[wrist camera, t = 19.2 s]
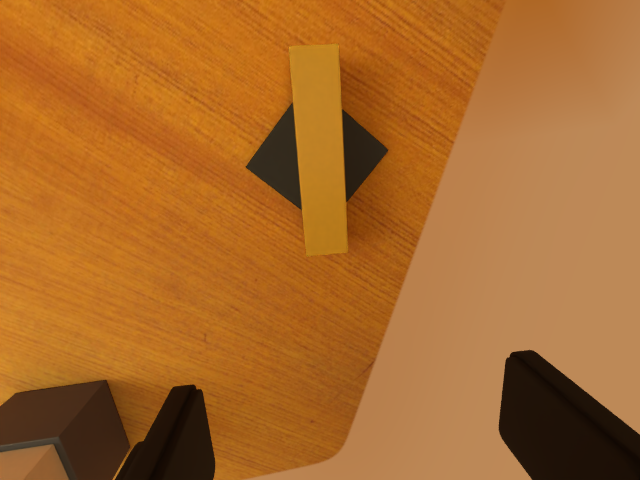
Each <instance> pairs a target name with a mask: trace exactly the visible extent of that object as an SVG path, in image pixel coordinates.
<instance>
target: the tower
mask: <svg viewBox="0 0 640 480" xmlns="http://www.w3.org/2000/svg"><path fill="white" fill-rule="evenodd" d="M129 449H130V445H129V443H128V440H127V437H126V434H125V431H124V429H123V426H122V423H121V420H120V418H119V415H118V412H117V409H116V406H115V404H114V401H113V398H112V395H111V392H110V390H109V387H108V384H107V381H106V380H103V381H96V382H89V383H82V384H75V385H69V386H62V387H55V388H48V389H41V390H35V391H28V392H21V393H16V394H14V395H13V396H12V397H11V398H10V399H8V400H7V401H6V402H5V403H4V404H3V405H1V406H0V480H112V479H113V477H114V476H115V474H116V472H117V470H118V469H119V467H120V465H121V463H122V461H123V460H124V458H125V456H126V454H127V452H128V451H129Z"/></svg>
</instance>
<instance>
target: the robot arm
mask: <svg viewBox="0 0 640 480" xmlns="http://www.w3.org/2000/svg"><path fill="white" fill-rule="evenodd" d="M499 432H500V435H501V437H502V439H503V441H504V442H505V444H506V445H507V446H508V448H509V449H510V450H511V452H512V453H513V454H514V456H515V457H516V458H517V460H518V461H519V462H520V464H521V465H522V466H523V468H524V469H525V470H526V472H527V473H528V475H529V476H530V477H531V479H532V480H640V435H639V434H638V433H637V432H636V431H634V430H633V429H632V428H631V427H629V426H628V425H627V424H625V423H624V422H623V421H622V420H621V419H619V418H618V417H617V416H615V415H614V414H613V413H612V412H610V411H609V410H608V409H607V408H605V407H604V406H603V405H601V404H600V403H599V402H598V401H597V400H595V399H594V398H593V397H592V396H590V395H589V394H588V393H587V392H585V391H584V390H583V389H581V388H580V387H579V386H578V385H577V384H575V383H574V382H573V381H572V380H570V379H569V378H567V377H566V376H565V375H564V374H563V373H561V372H560V371H559V370H557V369H556V368H555V367H554V366H553V365H551V364H550V363H549V362H547V361H546V360H545V359H544V358H542V357H541V356H540V355H539V354H538V353H536V352H534V351H532V350H527V351H517V352H512V353H511V354H510V357H509V358H507V359H506V363H505V372H504V381H503V391H502V401H501V409H500V419H499ZM214 473H215V458H214V452H213V447H212V441H211V435H210V430H209V424H208V419H207V413H206V408H205V402H204V397H203V392H202V390H201V389H198V390H197V389H196V386H195V385H184V386H175V387H173V388H172V389H171V391H170V393H169V395H168V397H167V398H166V400H165V402H164V404H163V406H162V408H161V410H160V411H159V413H158V415H157V417H156V419H155V421H154V423H153V424H152V426H151V428H150V430H149V432H148V434H147V436H146V437H145V439H144V441H141V442H138V443H137V444H136V445H135V446H134V448H133V449H132V450H131V452H130V454H129V456H128V457H127V459H126V461H125V463H124V465H123V466H122V468H121V470H120V472H119V473H118V475H117V477H116V479H115V480H213V478H214Z"/></svg>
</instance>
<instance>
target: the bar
mask: <svg viewBox="0 0 640 480" xmlns="http://www.w3.org/2000/svg"><path fill="white" fill-rule="evenodd" d="M289 63H290V75H291V86H292V98H293V110H294V122H295V134H296V146H297V158H298V169H299V181H300V193H301V205H302V217H303V229H304V241H305V250H306V256H318V255H329V254H340V253H348V233H347V211H346V189H345V167H344V145H343V122H342V100H341V78H340V56H339V44H319V45H298V46H289Z"/></svg>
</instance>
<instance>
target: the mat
mask: <svg viewBox="0 0 640 480" xmlns="http://www.w3.org/2000/svg"><path fill="white" fill-rule="evenodd" d="M342 122H343V145H344V167H345V189H346V202H347V201H348V200H349V199H350V197H351V196H352V195H353V194H354V192H355V191H356V190H357V189H358V187H359V186H360V185H361V184H362V183H363V181H364V180H365V179H366V178H367V176H368V175H369V174H370V173H371V171H372V170H373V169H374V168H375V166H376V165H377V164H378V163H379V161H380V160H381V159H382V158H383V157H384V155H385V154H386V153H387V152H388V149H387V148H385V147H384V146H383V145H382V144H381V143H380V142H379V141H378V140H376V139H375V138H374V137H373V136H372V135H371V134H370V133H369V132H367V131H366V130H365V129H364V128H363V127H362V126H361V125H360V124H358V123H357V122H356V121H355V120H354V119H353V118H352V117H351V116H350V115H348V114H347V113H346V112H345V111H344V110H343V109H342ZM246 168H247V169H249V170H250V171H251V172H253V173H254V174H255V175H257V176H258V177H259V178H260V179H262V180H263V181H264V182H266V183H267V184H268V185H270V186H271V187H272V188H274V189H275V190H276V191H277V192H279V193H280V194H281V195H283V196H284V197H285V198H287V199H288V200H289V201H291V202H292V203H293V204H295V205H296V206H297V207H298V208H300V209H301V210H302V205H301V193H300V181H299V169H298V158H297V146H296V134H295V122H294V110H293V102H292V104H291V105H290V107H289V108H288V109H287V111H286V112H285V114H284V115H283V116H282V118H281V119H280V120H279V122H278V123H277V125H276V126H275V127H274V129H273V130H272V131H271V133H270V134H269V136H268V137H267V138H266V140H265V141H264V142H263V144H262V145H261V147H260V148H259V149H258V151H257V152H256V154H255V155H254V156H253V158H252V159H251V160H250V162H249V163H248V165H247V166H246Z"/></svg>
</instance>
